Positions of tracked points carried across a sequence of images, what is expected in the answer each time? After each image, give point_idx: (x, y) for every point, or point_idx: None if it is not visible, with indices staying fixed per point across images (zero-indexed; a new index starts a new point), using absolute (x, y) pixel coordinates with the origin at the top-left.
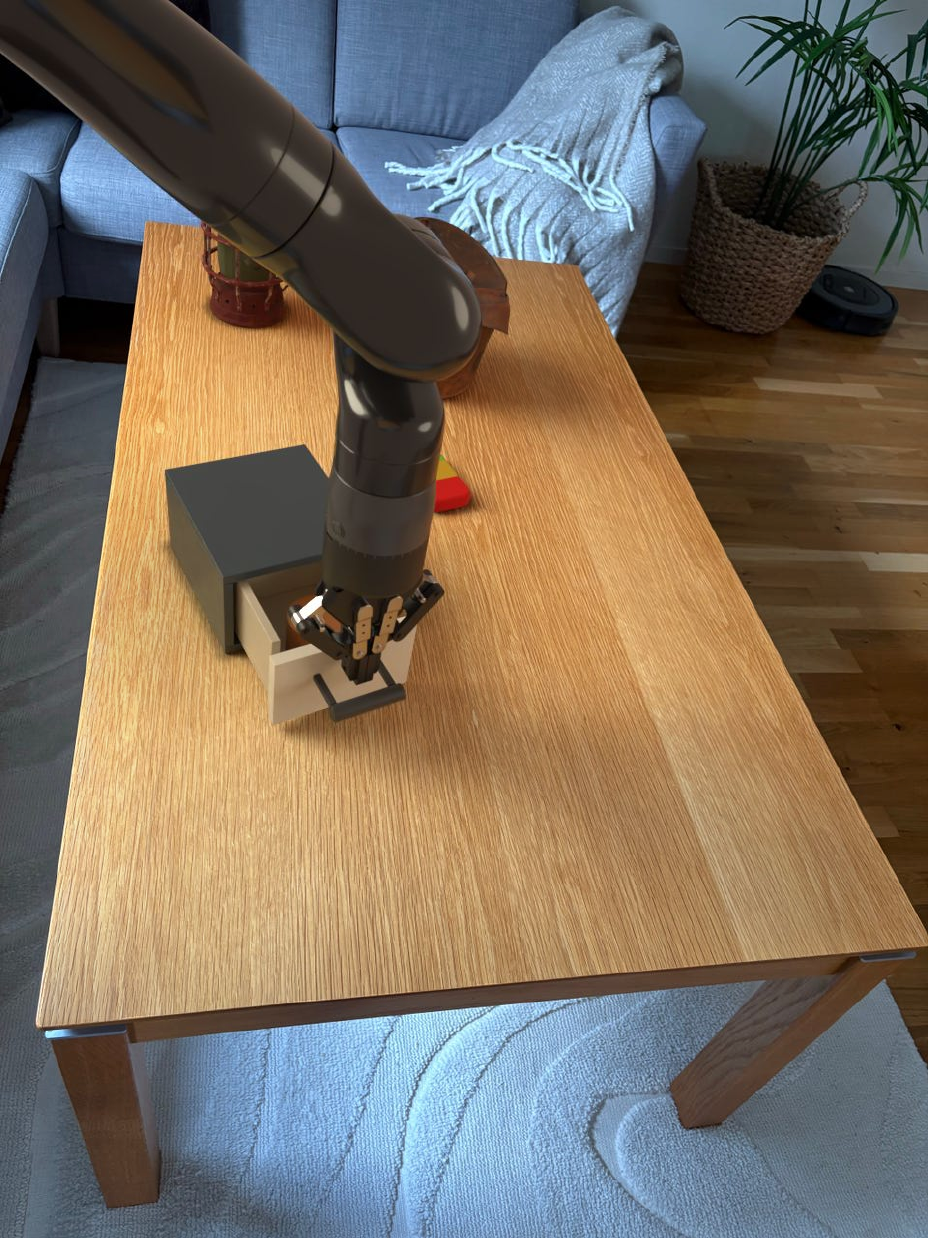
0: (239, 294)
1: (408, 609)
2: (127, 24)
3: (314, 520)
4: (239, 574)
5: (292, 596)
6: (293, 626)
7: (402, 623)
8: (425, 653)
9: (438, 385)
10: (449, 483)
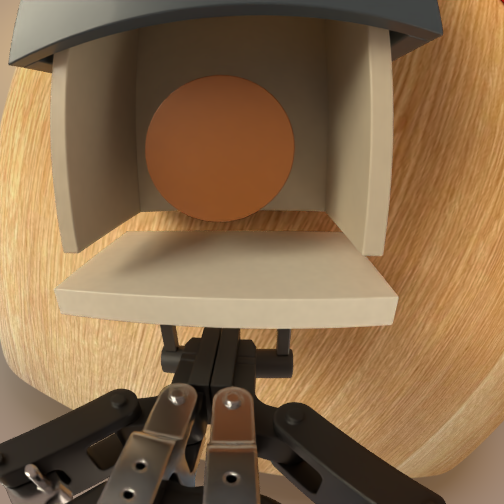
0: None
1: (323, 500)
2: None
3: None
4: (35, 52)
5: (241, 20)
6: (150, 162)
7: (297, 483)
8: (401, 197)
9: None
10: None
